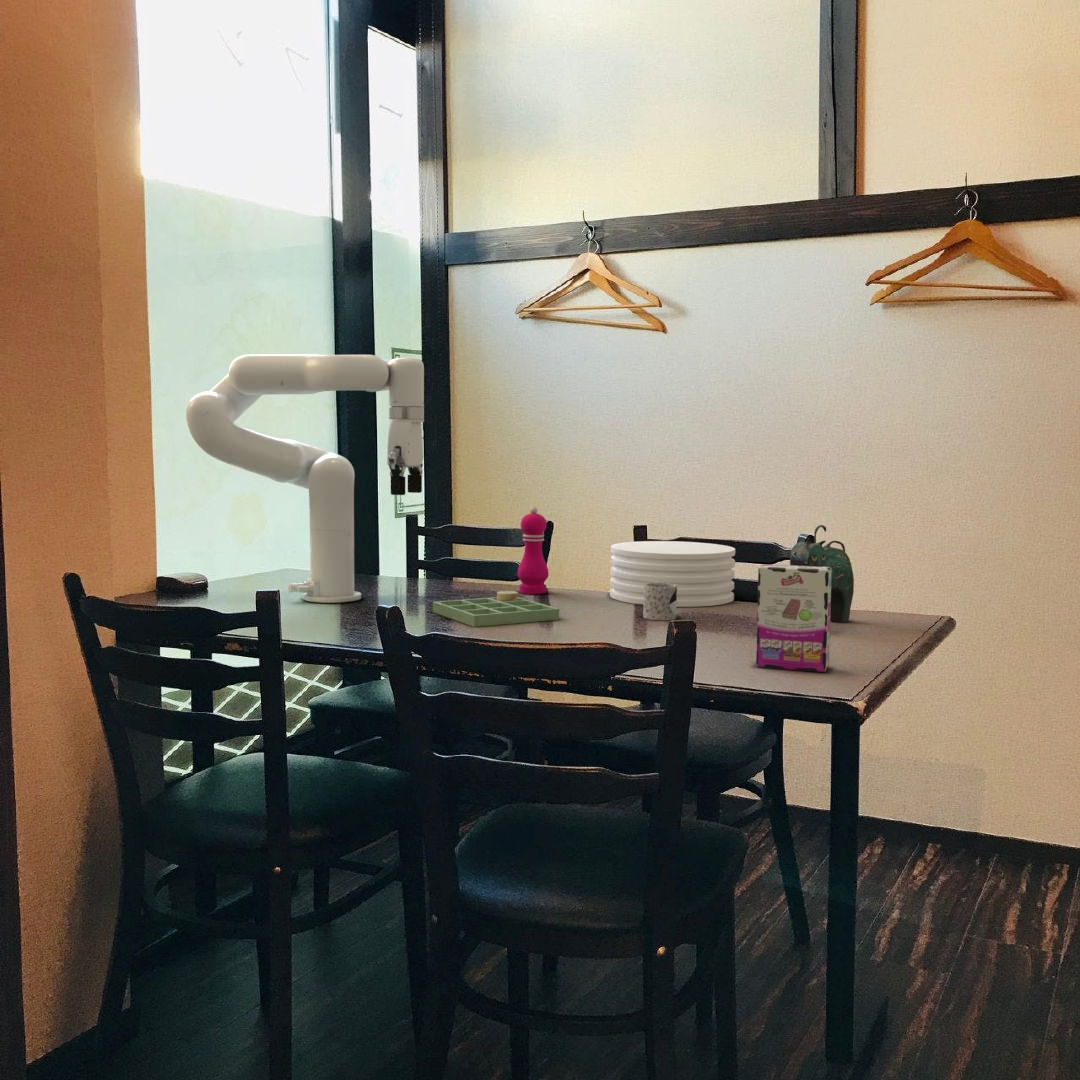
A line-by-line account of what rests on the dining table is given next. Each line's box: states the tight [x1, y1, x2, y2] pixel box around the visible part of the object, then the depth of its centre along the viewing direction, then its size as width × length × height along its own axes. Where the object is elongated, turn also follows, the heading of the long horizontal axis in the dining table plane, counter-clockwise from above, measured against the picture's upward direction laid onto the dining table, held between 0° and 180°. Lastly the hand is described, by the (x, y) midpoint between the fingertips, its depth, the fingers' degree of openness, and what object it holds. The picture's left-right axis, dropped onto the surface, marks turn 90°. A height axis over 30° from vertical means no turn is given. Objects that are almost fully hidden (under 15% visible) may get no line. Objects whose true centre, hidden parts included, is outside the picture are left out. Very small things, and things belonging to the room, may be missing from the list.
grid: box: [432, 596, 560, 628], centre depth 226 cm, size 19×19×2 cm
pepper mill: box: [517, 506, 549, 595], centre depth 258 cm, size 7×7×20 cm
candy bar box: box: [755, 564, 832, 673], centre depth 179 cm, size 11×5×16 cm, turn 69°
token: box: [496, 590, 519, 602], centre depth 234 cm, size 4×4×3 cm
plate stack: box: [609, 540, 736, 608], centre depth 253 cm, size 28×28×12 cm
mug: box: [642, 583, 677, 621], centre depth 227 cm, size 10×7×7 cm, turn 177°
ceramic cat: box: [789, 524, 855, 623], centre depth 218 cm, size 20×6×20 cm, turn 137°
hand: (406, 493), depth 245 cm, fingers open, 9 cm apart
